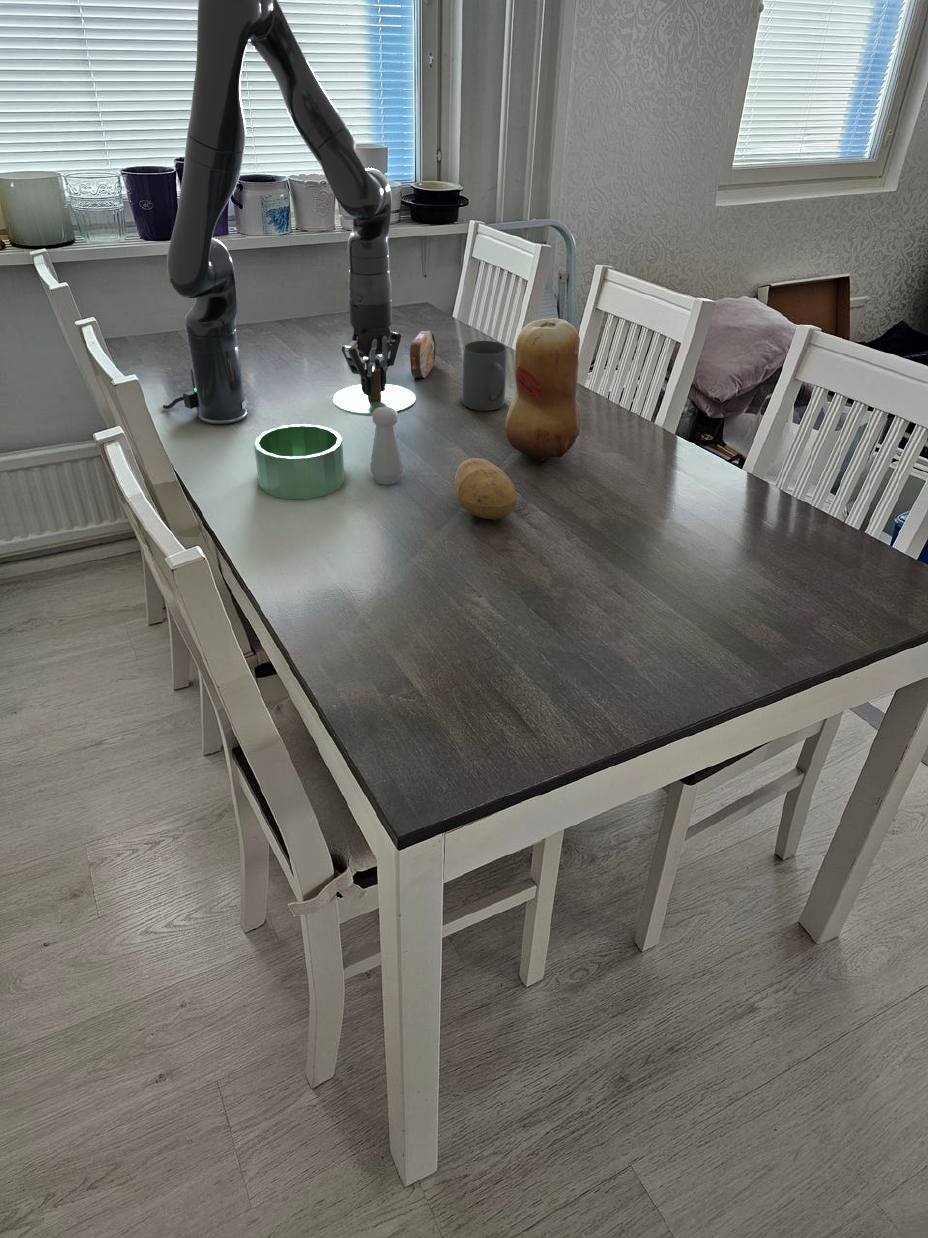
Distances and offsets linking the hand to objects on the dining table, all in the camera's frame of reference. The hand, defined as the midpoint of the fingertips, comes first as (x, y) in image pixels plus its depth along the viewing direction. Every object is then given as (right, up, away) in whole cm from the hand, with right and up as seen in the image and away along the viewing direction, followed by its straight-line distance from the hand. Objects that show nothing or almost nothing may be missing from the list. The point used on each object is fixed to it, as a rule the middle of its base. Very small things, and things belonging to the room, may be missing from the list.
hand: (374, 392), depth 160 cm
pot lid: (0, -1, +1) cm, 2 cm away
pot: (-12, -18, -11) cm, 24 cm away
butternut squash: (+31, -12, 0) cm, 34 cm away
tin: (+7, +15, +38) cm, 42 cm away
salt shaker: (+3, -18, -9) cm, 21 cm away
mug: (+22, +2, +21) cm, 30 cm away
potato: (+20, -25, -19) cm, 38 cm away
